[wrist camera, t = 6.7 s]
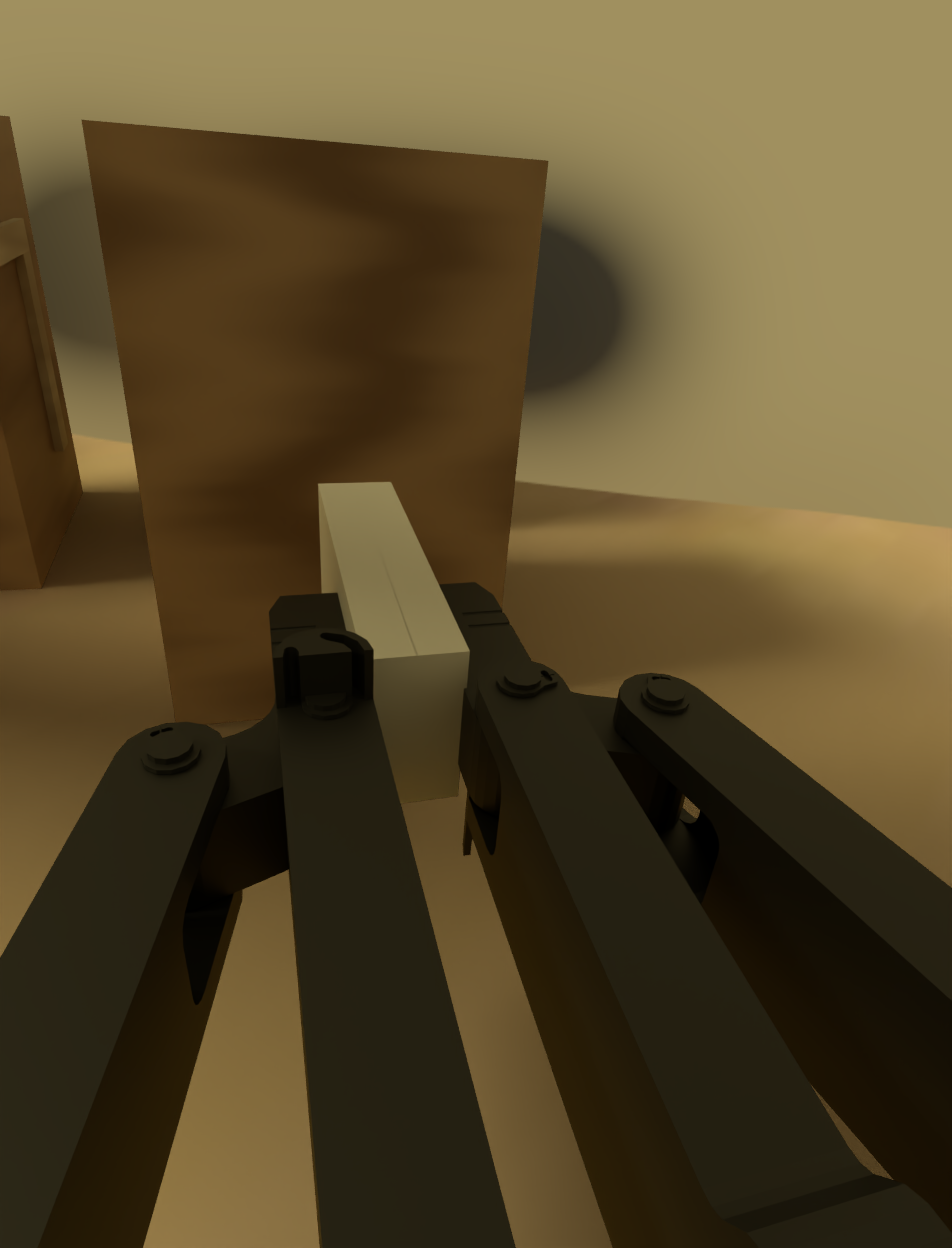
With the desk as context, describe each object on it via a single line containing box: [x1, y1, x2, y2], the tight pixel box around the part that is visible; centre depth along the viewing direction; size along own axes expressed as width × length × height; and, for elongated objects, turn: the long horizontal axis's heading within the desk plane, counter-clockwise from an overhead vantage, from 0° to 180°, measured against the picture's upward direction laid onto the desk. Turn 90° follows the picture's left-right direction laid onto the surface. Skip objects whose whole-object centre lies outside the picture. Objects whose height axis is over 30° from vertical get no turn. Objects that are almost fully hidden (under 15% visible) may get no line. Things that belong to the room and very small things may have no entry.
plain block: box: [82, 120, 548, 725], centre depth 23 cm, size 9×9×14 cm
